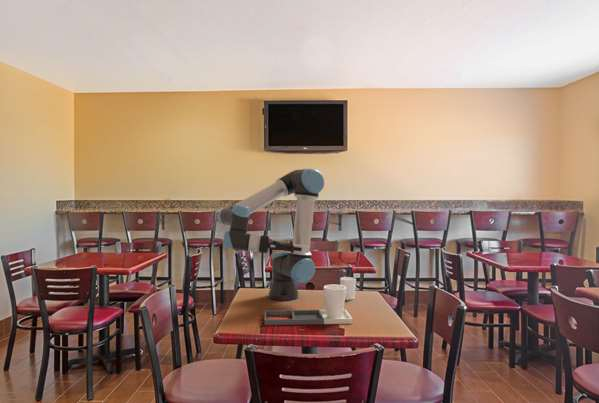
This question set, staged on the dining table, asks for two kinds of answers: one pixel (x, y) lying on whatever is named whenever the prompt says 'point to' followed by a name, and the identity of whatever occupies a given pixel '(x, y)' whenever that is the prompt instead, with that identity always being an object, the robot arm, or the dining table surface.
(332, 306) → the foam cup
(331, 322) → the grey flat rectangular tray
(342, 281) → the white cup
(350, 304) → the dining table surface
